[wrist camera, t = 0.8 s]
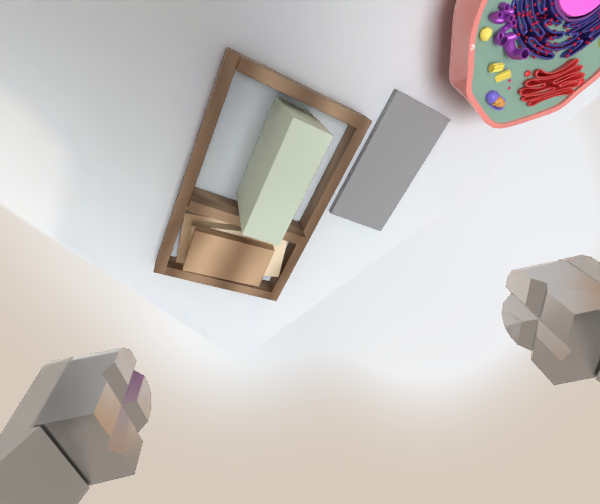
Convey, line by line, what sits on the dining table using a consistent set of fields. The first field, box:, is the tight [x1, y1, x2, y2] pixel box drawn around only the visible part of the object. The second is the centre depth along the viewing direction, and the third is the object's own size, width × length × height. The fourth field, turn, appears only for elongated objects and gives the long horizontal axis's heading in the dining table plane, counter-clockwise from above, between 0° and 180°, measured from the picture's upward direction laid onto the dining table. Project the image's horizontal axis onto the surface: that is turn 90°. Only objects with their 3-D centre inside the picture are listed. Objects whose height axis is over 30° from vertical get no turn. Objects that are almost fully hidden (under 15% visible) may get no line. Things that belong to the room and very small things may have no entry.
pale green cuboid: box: [236, 96, 333, 246], centre depth 39 cm, size 4×12×10 cm, turn 154°
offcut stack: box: [176, 209, 287, 287], centre depth 47 cm, size 13×7×4 cm, turn 73°
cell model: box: [449, 0, 600, 128], centre depth 35 cm, size 17×20×11 cm
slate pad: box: [329, 89, 450, 231], centre depth 46 cm, size 8×16×1 cm, turn 155°
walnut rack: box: [154, 48, 372, 301], centre depth 43 cm, size 16×26×4 cm, turn 155°
